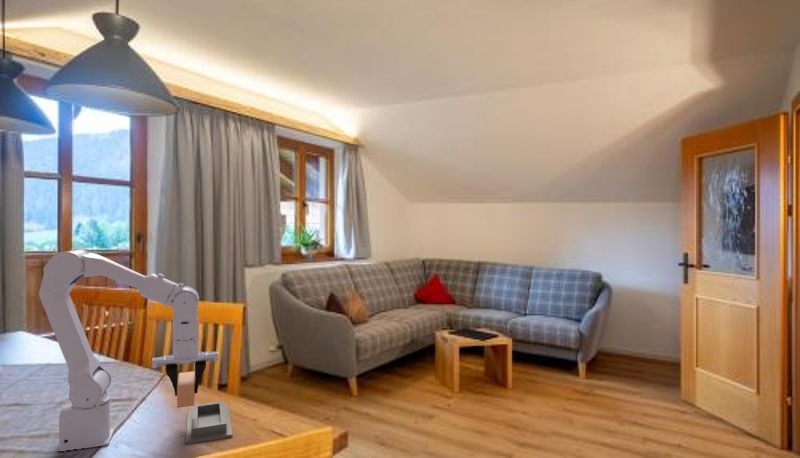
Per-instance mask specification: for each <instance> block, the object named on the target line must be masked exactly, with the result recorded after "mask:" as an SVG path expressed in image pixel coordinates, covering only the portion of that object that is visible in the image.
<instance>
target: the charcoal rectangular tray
mask: <svg viewBox="0 0 800 458" xmlns="http://www.w3.org/2000/svg"><path fill="white" fill-rule="evenodd" d="M185 433H186V434H185V445H189V444H195V443H202V442H210V441H214V440H221V439H227V438H232V437H233V429H232V421H231V414H230V406H229V405H225V400H223V401H216V402H214V401H213V402H208V403H207V402H206V403H200V404H194V406H192V409H191V410H187V417H186V430H185Z"/></svg>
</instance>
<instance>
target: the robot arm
mask: <svg viewBox="0 0 800 458" xmlns="http://www.w3.org/2000/svg"><path fill="white" fill-rule="evenodd" d="M97 276H99V277H101V276H103V277H106V278H109V279H111V280H113V281H116V282H120V283H122V284H124V285H128V286H130V287H133V288H135V289H137V290H138V293H139V295H140V296H141V297H143V298H145V299H148V300H150V301H152V302H156V303H158V304H160V305H162V306H166V307H171V310H172V312H173V320H172V354H169V355H163V356H159V357H152V360H151V364H152V365H151V367H152V368H151V369H157V368H160V367H165V373H166V375H167V376H168V378H169V380H170V382H171V384H172V388H173V390H174V396H176V397H177V384H178V377H179V370H178V369H179V365H180V366H181V365H188V364H194V371H195V387H194V393H195V394H198V390H199V385H200V381H201V379H202V377H203V374H204V371H205V370H206V367H207V362H208V363H209V362H214V363H215V362H219V351H200V347H199V346H200V340H199V339H200V331H199V330H200V329H199V327H200V325H199V323H200V319H199V310H198V306H199V301H200V296H199V292H198V291H197V290H196V289H194V288H193V287H192V286H190V285H187V286H184V283H182V282H179V283H177V282H175V281H173V280H170V279H167V278H165V275H164V274H162V273H160V272H159V273H158V274H156V273H151V274H147V275H144V274H141V273H139V272H138V271H135V270H133V269H131V268H128V267H126V266H124V265H122V264H120V263H117V262H115V261H114V260H112V259H110V258H108V257H105V256H102V255H100V254H98V253H95V252H94V253H93V252H89V251H87V250H85V249H82V248H73V249H71V250H68V251H61V252H57V253H56V254H54V255H53V256H52V257H51V258H50V259H49V260H48V261H47V263H46V264H45V265H44V266H43V277H42V280H41V284H40V286H39V287H40V288H39V292H38V296H39V299H40V302H41V305H42V306H43V308H44V311H45V314H46V316H47V319H48V321H49V323H50V325H51V328H52V332H53V333H54V336H55V339H56V341H57V343H58V345H59V348H60V350H61V353H62V355H63V358H64V360H65V363H66V365H67V368H68V371H67V383H68V384H69V393H68V397H69V398H68V399H69V401H70V404H66V405H63V406H62V407H61V408H60V412H59V417H58V451H64V450H71V451H74V450H73V449H77V450H82V448H84V449H89V448H90V449H91V448H96V447H101V446H108V445H109V444H110V442H111V439H112V437H113V435H114V432H115V428H111V422H110V421H111V420H110V419H111V410H110V409H111V408H110V407H111V405H110V402H111V401H110V398H111V396H109V394H108V391H107V390H108V388H109V387H110V386H111V384H112V383H111V382H112V376H111V375H112V374H110V372H109V371H108V370H107V369H106V368H104V366H102V363H101V361H100V360H99V359H98V358H97V357H96V356H94V352H93V350H92V348H91V345H90V343H89V340H88V337H87V335H86V333H85V330H84V328H83V325H82V323H81V320H80V318H79V316H78V313H77V310H76V308H75V304H74V302H73V299H72V297H71V295H70V294H71V292H72V290H73V289H74V287H75V286H76V285H77V283H78V281H80V279H82V278H83V277H84V278H88V277H89V278H90V277H97ZM64 452H65V451H64Z"/></svg>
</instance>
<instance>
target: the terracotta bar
mask: <svg viewBox="0 0 800 458" xmlns="http://www.w3.org/2000/svg"><path fill="white" fill-rule="evenodd" d="M194 387H195V370H194V371H186V372H178V384H177V396H176V403H177V404H176V406H177V407H176V408H177V409H179V408H186V407H187V408H188V407H193V406H194V405H195V399H196V398H195V397H196V393H194Z"/></svg>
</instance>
